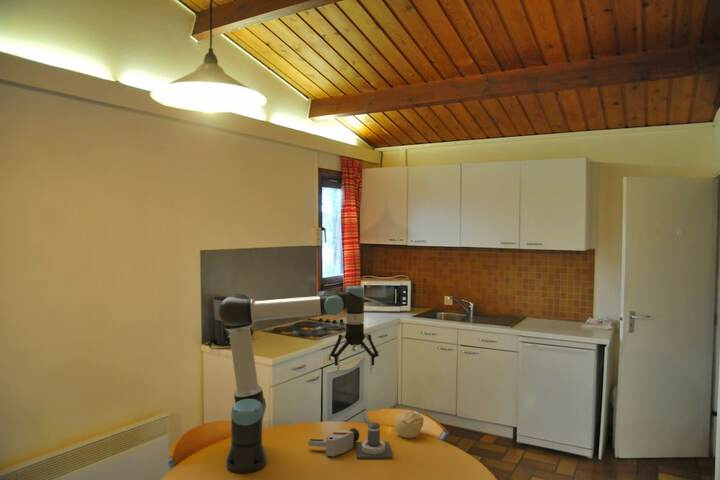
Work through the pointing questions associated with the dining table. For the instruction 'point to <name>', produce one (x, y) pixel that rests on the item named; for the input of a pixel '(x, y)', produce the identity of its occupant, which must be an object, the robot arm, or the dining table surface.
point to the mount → (373, 451)
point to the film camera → (337, 441)
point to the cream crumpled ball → (409, 424)
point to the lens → (373, 435)
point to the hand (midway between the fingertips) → (354, 373)
